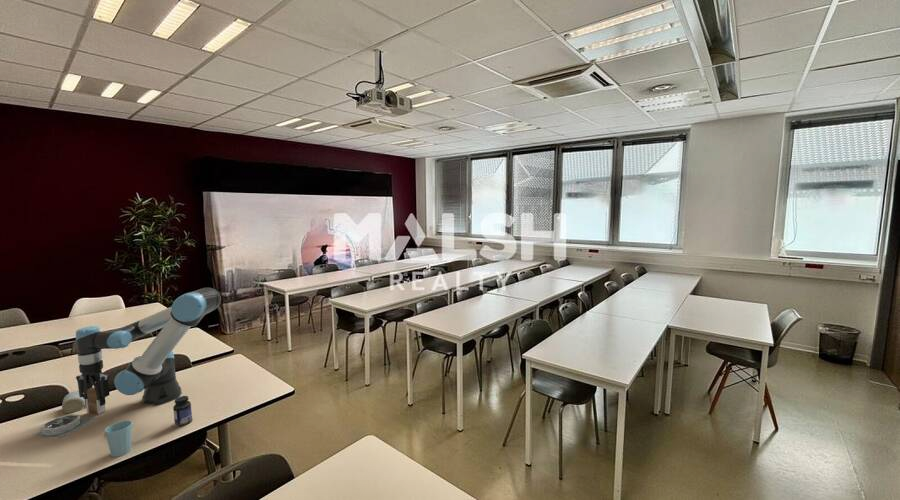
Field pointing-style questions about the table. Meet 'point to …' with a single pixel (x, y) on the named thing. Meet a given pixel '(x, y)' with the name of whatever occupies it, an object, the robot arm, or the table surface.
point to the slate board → (83, 421)
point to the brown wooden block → (92, 401)
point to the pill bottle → (182, 411)
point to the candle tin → (61, 425)
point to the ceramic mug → (73, 402)
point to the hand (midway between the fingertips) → (96, 411)
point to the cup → (119, 438)
